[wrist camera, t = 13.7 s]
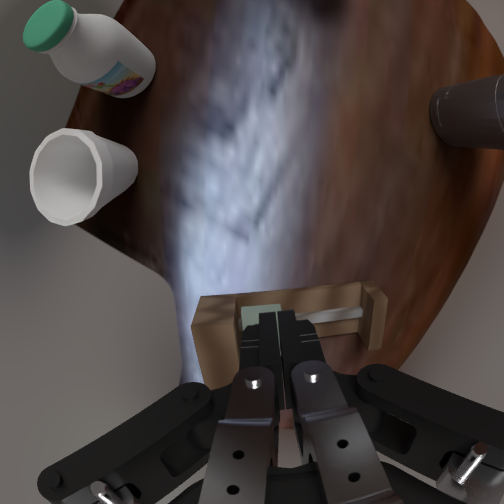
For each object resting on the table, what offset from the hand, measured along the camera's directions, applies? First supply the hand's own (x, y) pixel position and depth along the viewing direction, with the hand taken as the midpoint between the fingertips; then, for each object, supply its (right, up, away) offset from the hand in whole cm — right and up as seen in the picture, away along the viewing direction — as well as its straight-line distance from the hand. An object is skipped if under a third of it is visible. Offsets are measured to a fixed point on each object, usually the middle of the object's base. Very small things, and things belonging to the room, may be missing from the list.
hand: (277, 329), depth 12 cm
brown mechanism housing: (+5, -9, +31) cm, 32 cm away
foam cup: (-19, +14, +23) cm, 33 cm away
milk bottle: (-17, +27, +19) cm, 37 cm away
